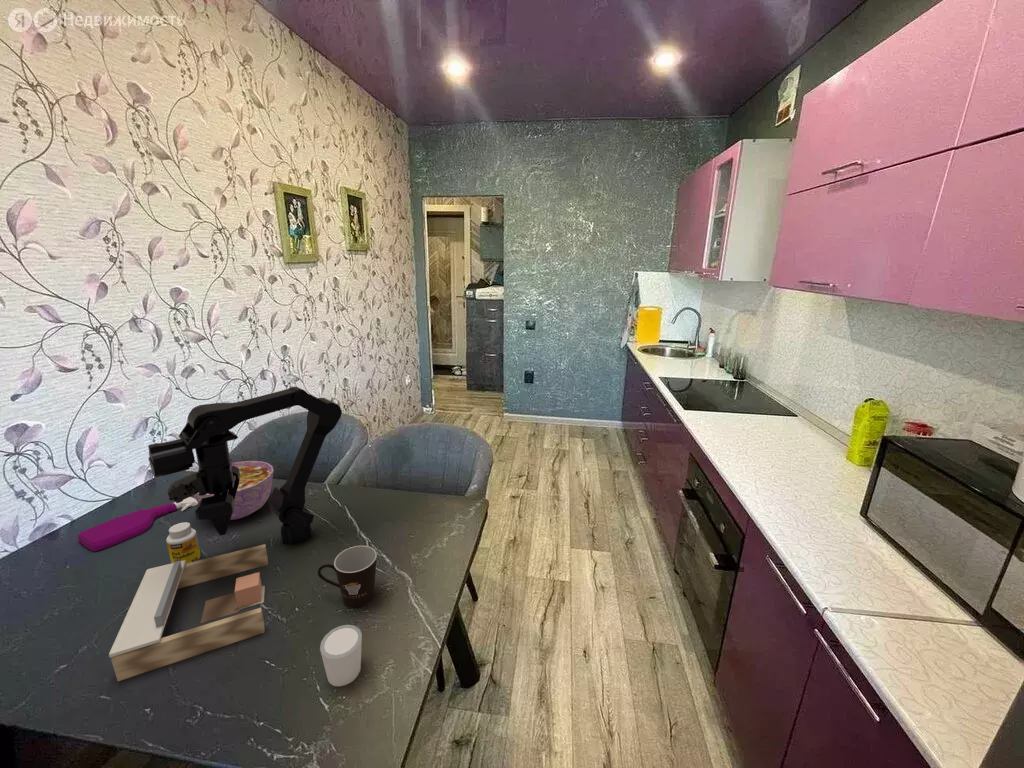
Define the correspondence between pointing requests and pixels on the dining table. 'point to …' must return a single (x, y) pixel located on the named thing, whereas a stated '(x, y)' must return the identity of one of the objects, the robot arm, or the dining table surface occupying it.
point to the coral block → (248, 590)
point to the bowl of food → (249, 488)
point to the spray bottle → (127, 526)
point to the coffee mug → (354, 575)
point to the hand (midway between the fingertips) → (225, 523)
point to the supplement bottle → (183, 543)
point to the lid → (149, 609)
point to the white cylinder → (342, 654)
